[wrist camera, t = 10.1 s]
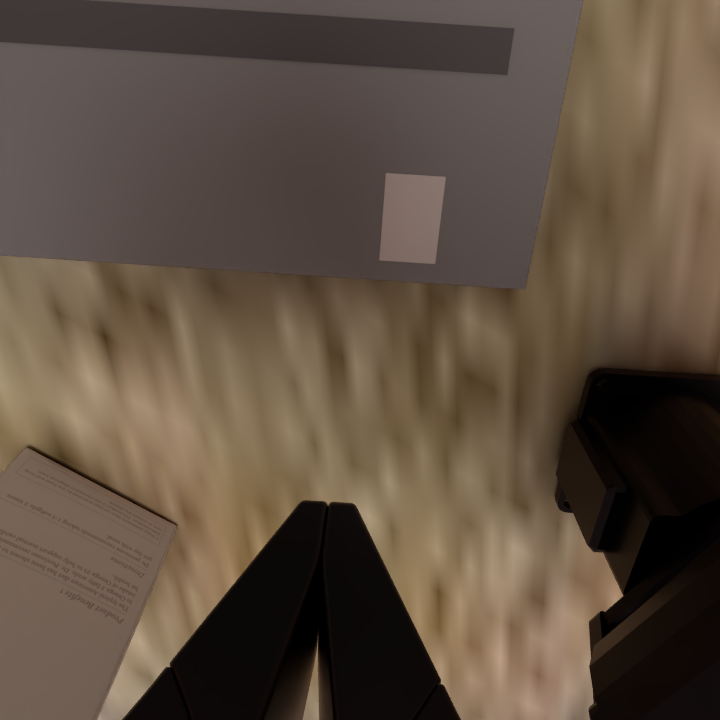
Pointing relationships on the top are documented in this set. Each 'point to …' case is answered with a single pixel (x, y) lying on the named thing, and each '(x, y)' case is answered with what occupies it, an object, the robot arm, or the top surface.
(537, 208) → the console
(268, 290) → the top surface
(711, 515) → the robot arm
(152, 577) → the supplement box
